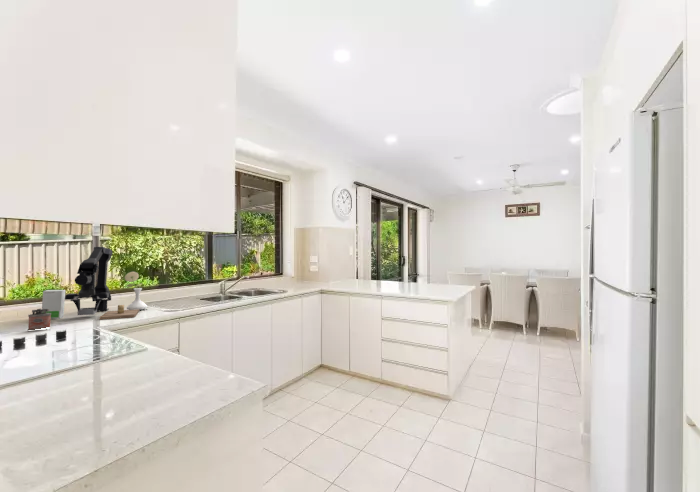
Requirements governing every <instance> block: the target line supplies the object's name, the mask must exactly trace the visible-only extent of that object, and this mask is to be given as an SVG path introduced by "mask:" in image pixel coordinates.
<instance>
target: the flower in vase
mask: <svg viewBox="0 0 700 492" xmlns="http://www.w3.org/2000/svg"><path fill="white" fill-rule="evenodd" d="M139 277H140V276H139V272H136V271H130V272H127V273H126V274H125V276H124V279H125V282H128V284H127V285H125V286H126V287H128V288H131V287H133V286H134V287H135V288H133V290H134V292H135V297H134V298H135V299H134V301H132V302H131V303H130V304H128V305H127V306H126V310H138V309H139V311H140V310H145V309H147V308H148V305H147V304H146V303H145V302H144V301H142V300H141V298H140V297H141V295H140V294H141V292H142V290H143V288H142V287H140V286H142V285H143V282H141V283H138V284H135V283H134V282H135V281H137V280H138V279H139ZM138 287H139V288H138Z"/></svg>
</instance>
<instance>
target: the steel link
mask: <svg viewBox="0 0 700 492" xmlns="http://www.w3.org/2000/svg"><path fill="white" fill-rule="evenodd" d="M97 312H98V311H97V310H96V311H95V306H93V307H80V309H79V310H78V309H77V316H88V315H89V316H91V315H92V316H93V315H95V314H96V313H97Z"/></svg>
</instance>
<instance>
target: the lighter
mask: <svg viewBox="0 0 700 492" xmlns="http://www.w3.org/2000/svg"><path fill="white" fill-rule="evenodd" d="M49 310H50V309H42V308H36V309H32V310H31V313H32V314H31V313H30V314H28V316H27V317H28V325H27V326H28V329H27V331H28V330H35V329H41V328H46V327H51V320H52V319H51V313H46V312H48V311H49Z"/></svg>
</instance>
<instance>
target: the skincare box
mask: <svg viewBox="0 0 700 492" xmlns="http://www.w3.org/2000/svg"><path fill="white" fill-rule="evenodd" d="M65 296H66V289H46V290H43V291H42V303H41V309H50V310H49V311H48V312H46V313H51V320H58V319H62V318H64V316H65V314H64V313H65V301H66V300H65Z"/></svg>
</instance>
